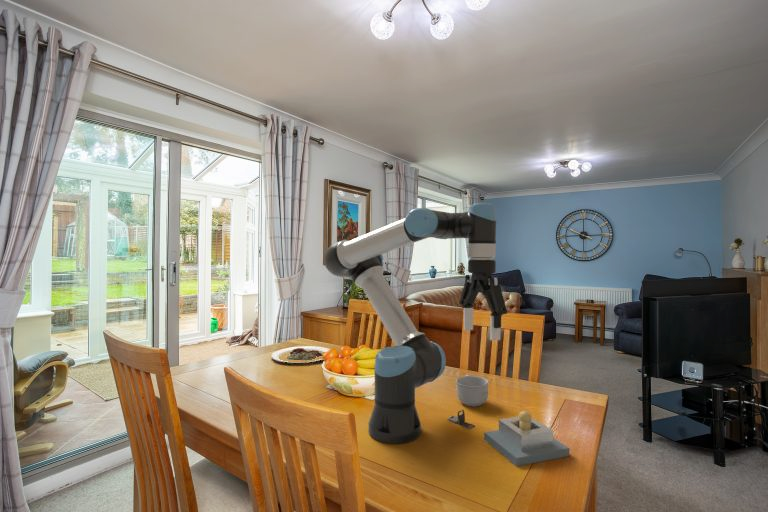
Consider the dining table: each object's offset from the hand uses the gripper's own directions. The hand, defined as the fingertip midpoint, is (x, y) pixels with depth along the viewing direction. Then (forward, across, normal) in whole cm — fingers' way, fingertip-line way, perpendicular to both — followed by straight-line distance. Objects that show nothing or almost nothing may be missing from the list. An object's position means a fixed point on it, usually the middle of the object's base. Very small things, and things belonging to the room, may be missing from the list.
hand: (480, 334), depth 107 cm
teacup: (+29, +23, -11) cm, 39 cm away
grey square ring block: (+26, -9, -8) cm, 29 cm away
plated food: (+30, +98, +39) cm, 109 cm away
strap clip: (+29, +9, +1) cm, 31 cm away
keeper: (+28, -9, -8) cm, 31 cm away
